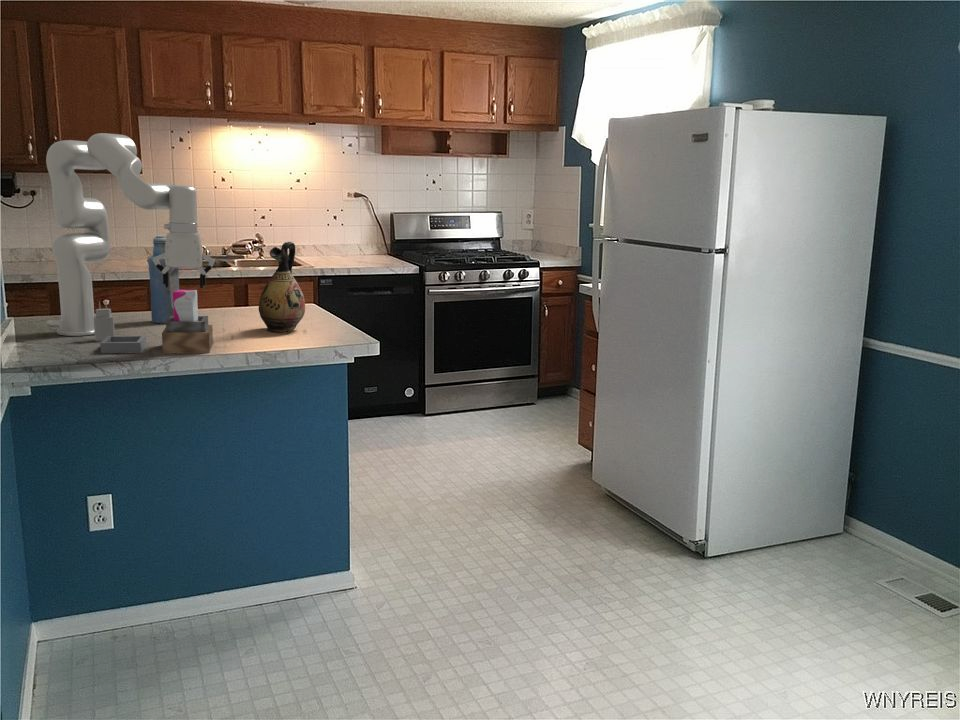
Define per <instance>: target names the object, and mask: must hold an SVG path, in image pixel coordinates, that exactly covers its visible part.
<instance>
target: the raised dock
mask: <svg viewBox="0 0 960 720" xmlns="http://www.w3.org/2000/svg"><path fill="white" fill-rule="evenodd" d="M163 329H164V330H162V332H161V340H162V341H161V345H162V346H161V347H162V354H204V353H210V352H211V350H212V348H213V344H214V336H213V335H214V334H213V324H209V316H208V315H198V321H174V316H170V317H169V319H168V320H167V321H166V324H165V328H163Z"/></svg>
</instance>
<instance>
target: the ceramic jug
mask: <svg viewBox="0 0 960 720" xmlns="http://www.w3.org/2000/svg"><path fill="white" fill-rule="evenodd" d="M269 256H270V258H272V259H274V260H275V261H277V262H278V267H277V269H276V270H275V272H274V273H273V274H272V276H271V277H270V278H269V280H268V281H267V283H266V285H265V286H264V287H263V290H262V291H261V293H260V297H259V302H258V314H259V316H260V319H261V320H262V322H263V323H264V325H265V326H266V327H267V328H266V331H268V332H270V331H273V332H272V333H287V332H286V331H290V332H293V331H292V330H294V329H295V330H296V327H297V325H298V324H299V323H300V322H301V320H302V319H303V318H304V316H305V312H306V301H305V297H304V293H303V291H302V289H301V287H300V286H299V283H298V281H297V279H295V277H294V276H293V266H294V261H295V257H296V244H295V243H294V242H292V241H287V242H284V243H283V244H282V245H281V248H279V247H277V246H274V247H272V248H271V249H270V251H269ZM295 330H294V331H295Z"/></svg>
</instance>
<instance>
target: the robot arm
mask: <svg viewBox="0 0 960 720" xmlns="http://www.w3.org/2000/svg"><path fill="white" fill-rule="evenodd" d="M137 149H138V148H137V146H136V144H135V142H134V140H133V139H131V137H129V136H128V135H125V134H118V133H106V132H105V133H104V132H100V133H99V132H98V133H95V134H93V135H91V136H90V137H89V138H88V139H87V141H84V140H76V139H75V140H73V139H67V140H66V139H65V140H59V141H56V142H54V143H52V144H51V145H50V146H49V148H48V150H47V153H46V158H45V162H46V168H47V171H48V174H49V175H48V176H49V179H50V183H51V191H52V193H51V195H52V201H53V202H52V203H53V213H54V218H55V221H56V224H57V225H58V226H59V227H61V229H62V228H63V229H69V230H70V229H71V230H74V229H75V230H77V229H78V230H80V229H83V231H84V232H73V233H72V232H70V233H64V234H61V235H58V236H57V237H55V239H54V240H53V242H52V248H51V249H52V253H53V258H54V261H55V264H56V271H57V279H58V281H57V282H58V290H59V291H58V293H59V303H60V317H61V318H60V319H58V320H52V319H51V320H48V319H47V322H46V325H47V327H49V328H54V327H55V328H56V327H57V328H58V329H56V334H57V335H60V336H67V337H81V336H83V337H84V336H91V335H95V330H94V317H95V309H94V308H95V305H94V292H93V291H94V290H93V279H92V275H91V272H90V270H89V269H88V267H87V265H86V264H87V263H89V264H90V263H97V262H103V261H105V260H106V259H107V258H108V257H109V254H110V251H111V242H110V241H111V239H110V228H109V226H110V225H109V218H108V212H107V210H106V208H105V205H104V204H103V203H102V202H101V201H100V200H98V199H97V198H93V197H84V191H83V190H84V189H83V184H82V182H81V178H80V177H79V176H78V174H77V173H76V171H75V170H85V171H86V170H89V171H90V170H91V171H94V170H95V171H101V170H107V171H108V172H110V173H111V174H112V175H113V176H115V178H117V184H118V187H119V189H120V191H121V193H122V195H124V197H126V198H127V199H128V200H129V201H131V202H132V203H133V204H135V205H136V206H137V207H139V208H141V209H143V210H147V211H149V210H168V211H169V213H168V215H169V220H168V221H169V223H165V224H163V225H164V227H163V228H164V229H165V230H168V231H169V232H168V233H166V235H165V236H166V244H165V253H163V254H160V255H158V256H156V257H154V258H153V259H152V260H153V262H154V263H155V265H156V267H157V268H158V269H159V270H160V271H161V272H162V273H163V284H165V286H166V287H167V288H168V287H169V273H168V270H169V269H170V268H179V269H191V270H192V269H193V270H196V269H197V270H198V271H199V272H200V274H199V288H200V289H204V286H206V285H207V284H206V283H207V280H206V278H207V277H206V274H207V273H209V272H210V271H211V270H212V268H213V266H214V265H215V263H216V259H214V258H212V257H210V256H208V255H206V254H205V253H203V247H202V240H201V235H200V234H199V233H198V211H197V209H198V207H197V206H198V205H197V189H196V188H195V186H191V185H181V184H180V185H177V184H175V183H174V184H173V183H165V182H164V183H163V182H146V181H144V180H143V179H142V178H140V177H139V175H140V173H142V168H143V163H142V161H141V159H140V158H139V157H138V156H137V155H138V150H137ZM162 258H165V265H166V267H165V268H164V267H163V266H162V265H161V264H160V262H159V260H160V259H162ZM204 260H205V261H207V262H208V265H207V266H206V267H204V266H203V261H204Z"/></svg>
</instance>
